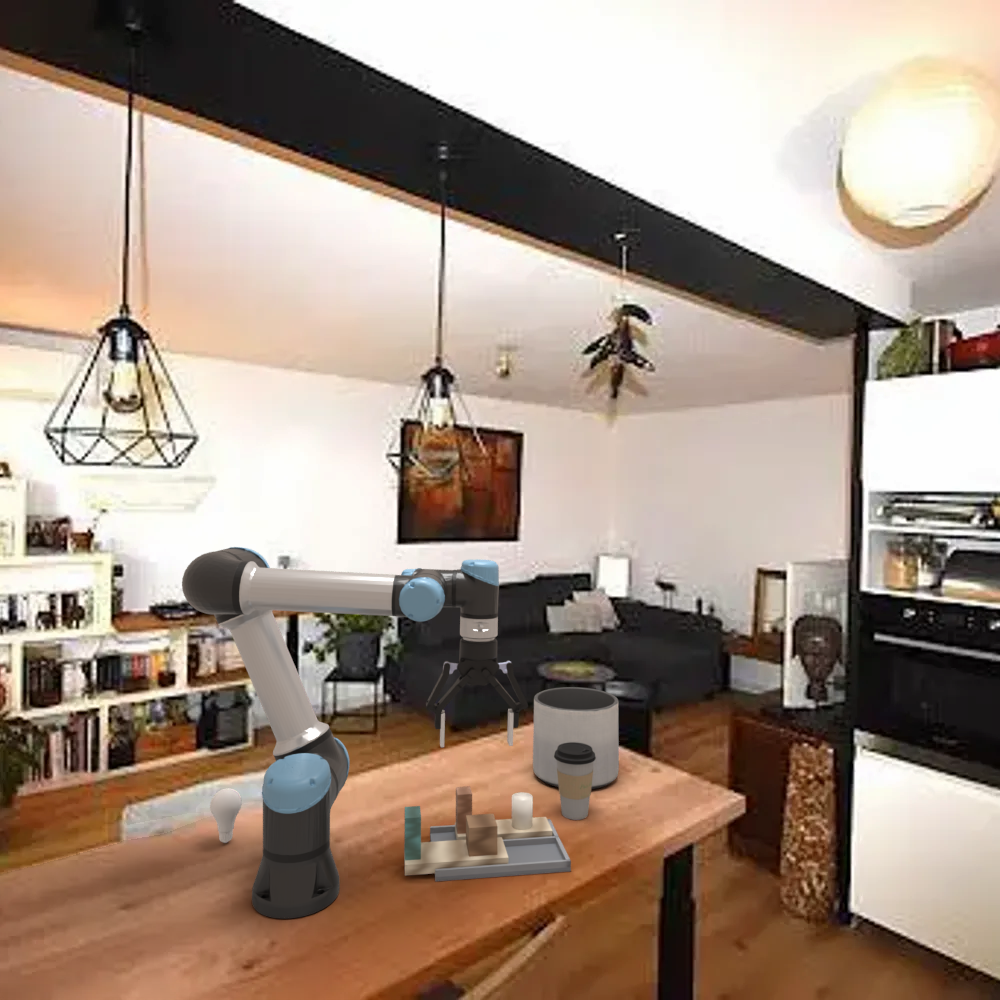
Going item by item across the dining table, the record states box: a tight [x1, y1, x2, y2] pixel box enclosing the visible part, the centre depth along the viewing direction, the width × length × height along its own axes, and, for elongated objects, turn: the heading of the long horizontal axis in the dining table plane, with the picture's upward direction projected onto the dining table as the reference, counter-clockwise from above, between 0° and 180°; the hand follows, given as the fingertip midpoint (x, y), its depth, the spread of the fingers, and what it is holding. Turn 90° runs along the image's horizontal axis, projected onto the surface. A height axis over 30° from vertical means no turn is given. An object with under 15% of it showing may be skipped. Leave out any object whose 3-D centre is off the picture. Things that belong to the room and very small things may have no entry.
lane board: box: [429, 818, 572, 882], centre depth 144 cm, size 26×18×2 cm
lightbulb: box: [209, 787, 243, 844], centre depth 147 cm, size 6×6×11 cm
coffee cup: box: [554, 742, 596, 821], centre depth 161 cm, size 9×9×15 cm
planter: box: [532, 686, 620, 790], centre depth 184 cm, size 22×22×20 cm
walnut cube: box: [466, 813, 498, 857], centre depth 139 cm, size 6×6×6 cm
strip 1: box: [403, 805, 508, 876], centre depth 138 cm, size 20×8×10 cm, turn 99°
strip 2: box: [454, 785, 552, 840], centre depth 149 cm, size 20×6×10 cm, turn 99°
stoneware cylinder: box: [511, 791, 534, 830], centre depth 149 cm, size 4×4×6 cm
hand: (476, 744), depth 142 cm, fingers open, 13 cm apart
